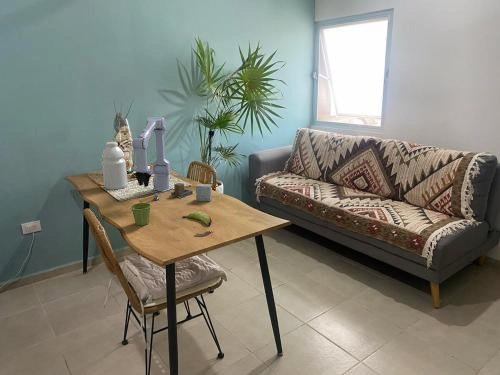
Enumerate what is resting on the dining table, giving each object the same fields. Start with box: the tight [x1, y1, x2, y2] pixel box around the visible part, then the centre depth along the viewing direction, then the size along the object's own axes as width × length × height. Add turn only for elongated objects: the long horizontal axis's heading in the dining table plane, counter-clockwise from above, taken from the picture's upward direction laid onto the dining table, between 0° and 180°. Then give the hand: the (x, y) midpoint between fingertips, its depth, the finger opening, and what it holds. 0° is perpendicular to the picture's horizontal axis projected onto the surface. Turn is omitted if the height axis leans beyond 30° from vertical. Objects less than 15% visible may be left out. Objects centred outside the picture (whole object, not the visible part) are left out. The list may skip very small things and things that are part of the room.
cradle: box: [170, 188, 194, 199], centre depth 216 cm, size 8×10×2 cm
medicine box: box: [195, 183, 213, 202], centre depth 206 cm, size 8×4×9 cm, turn 84°
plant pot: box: [129, 202, 152, 226], centre depth 173 cm, size 9×9×9 cm
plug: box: [173, 182, 185, 198], centre depth 214 cm, size 4×4×7 cm
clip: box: [138, 193, 159, 203], centre depth 203 cm, size 12×2×2 cm, turn 144°
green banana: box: [181, 209, 214, 238], centre depth 177 cm, size 35×27×4 cm
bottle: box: [100, 141, 129, 191], centre depth 228 cm, size 14×14×28 cm
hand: (143, 185), depth 197 cm, fingers open, 3 cm apart
